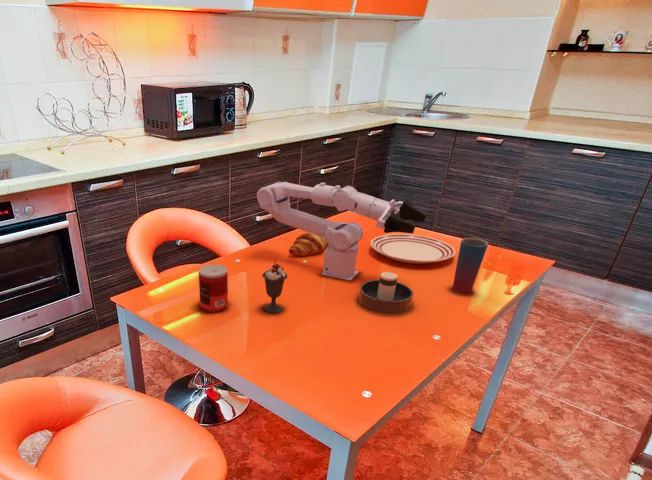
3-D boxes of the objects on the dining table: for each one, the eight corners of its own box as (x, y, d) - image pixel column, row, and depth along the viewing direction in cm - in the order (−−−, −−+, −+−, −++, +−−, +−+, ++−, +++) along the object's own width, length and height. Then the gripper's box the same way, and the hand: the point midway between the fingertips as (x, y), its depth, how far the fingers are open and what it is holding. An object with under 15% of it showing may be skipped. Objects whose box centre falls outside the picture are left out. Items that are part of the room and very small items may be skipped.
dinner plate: (385, 235, 181) (386, 227, 179) (462, 250, 167) (464, 241, 165) (357, 258, 162) (358, 249, 160) (440, 277, 148) (443, 267, 146)
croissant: (321, 250, 178) (315, 229, 177) (342, 243, 170) (336, 222, 169) (283, 264, 166) (276, 242, 165) (304, 258, 158) (297, 235, 157)
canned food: (231, 301, 136) (231, 265, 130) (222, 314, 129) (221, 277, 124) (206, 298, 138) (205, 262, 132) (196, 310, 132) (194, 273, 126)
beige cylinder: (373, 302, 133) (378, 276, 129) (378, 296, 136) (383, 270, 132) (390, 306, 131) (395, 279, 127) (394, 300, 134) (399, 274, 130)
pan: (351, 307, 132) (353, 294, 130) (367, 288, 142) (369, 276, 140) (402, 319, 125) (405, 306, 123) (415, 299, 136) (418, 286, 133)
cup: (476, 297, 136) (491, 247, 128) (451, 295, 137) (464, 245, 129) (471, 287, 142) (484, 238, 134) (446, 285, 143) (458, 237, 135)
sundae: (269, 316, 128) (271, 264, 120) (256, 306, 133) (258, 255, 125) (290, 311, 130) (293, 259, 123) (276, 301, 136) (279, 251, 128)
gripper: (365, 204, 129) (413, 221, 123) (388, 186, 137) (434, 201, 131) (359, 227, 134) (405, 244, 128) (381, 208, 142) (426, 223, 136)
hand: (419, 224), depth 130 cm, fingers open, 7 cm apart
